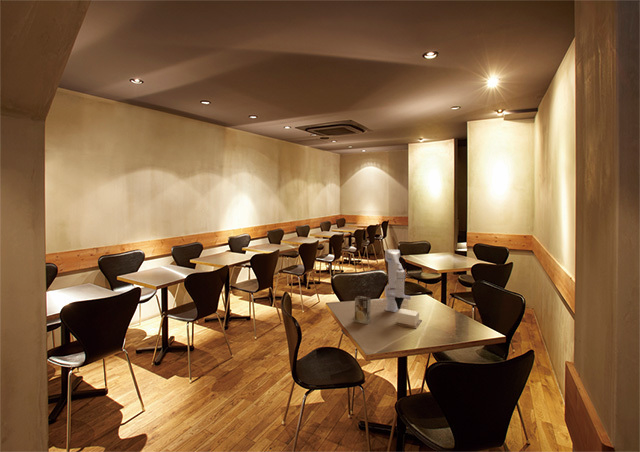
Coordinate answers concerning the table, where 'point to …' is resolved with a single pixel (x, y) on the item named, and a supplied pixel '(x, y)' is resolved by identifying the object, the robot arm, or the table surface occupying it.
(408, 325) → the board
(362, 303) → the coffee box
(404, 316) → the carton
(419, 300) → the table surface
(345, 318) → the table surface
